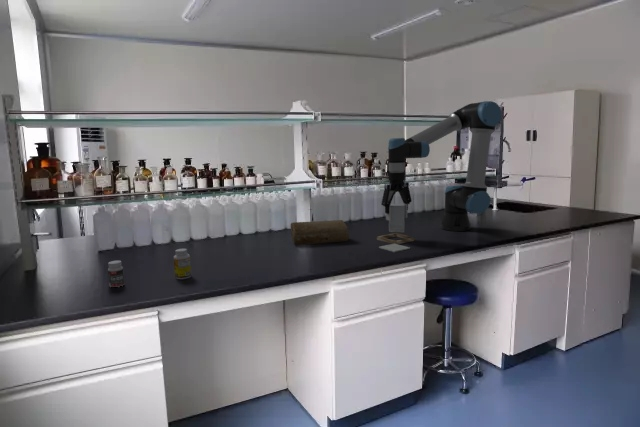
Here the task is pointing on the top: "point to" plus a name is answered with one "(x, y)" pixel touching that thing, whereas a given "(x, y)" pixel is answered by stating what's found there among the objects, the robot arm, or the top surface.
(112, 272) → the pill bottle
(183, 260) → the supplement bottle
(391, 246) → the sage pad
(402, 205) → the supplement box
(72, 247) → the top surface
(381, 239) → the wooden collar
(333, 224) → the core sample
